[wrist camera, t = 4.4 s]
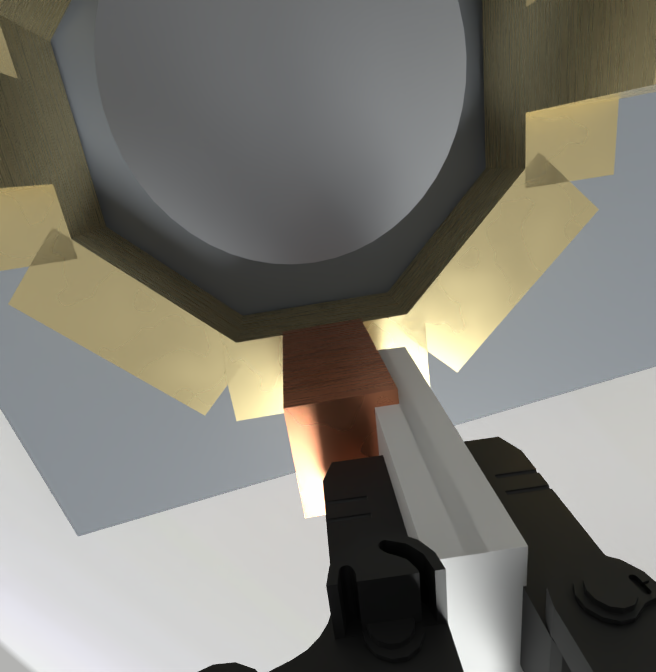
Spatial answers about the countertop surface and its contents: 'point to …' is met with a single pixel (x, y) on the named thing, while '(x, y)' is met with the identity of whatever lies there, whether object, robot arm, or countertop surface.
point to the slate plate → (221, 454)
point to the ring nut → (341, 315)
